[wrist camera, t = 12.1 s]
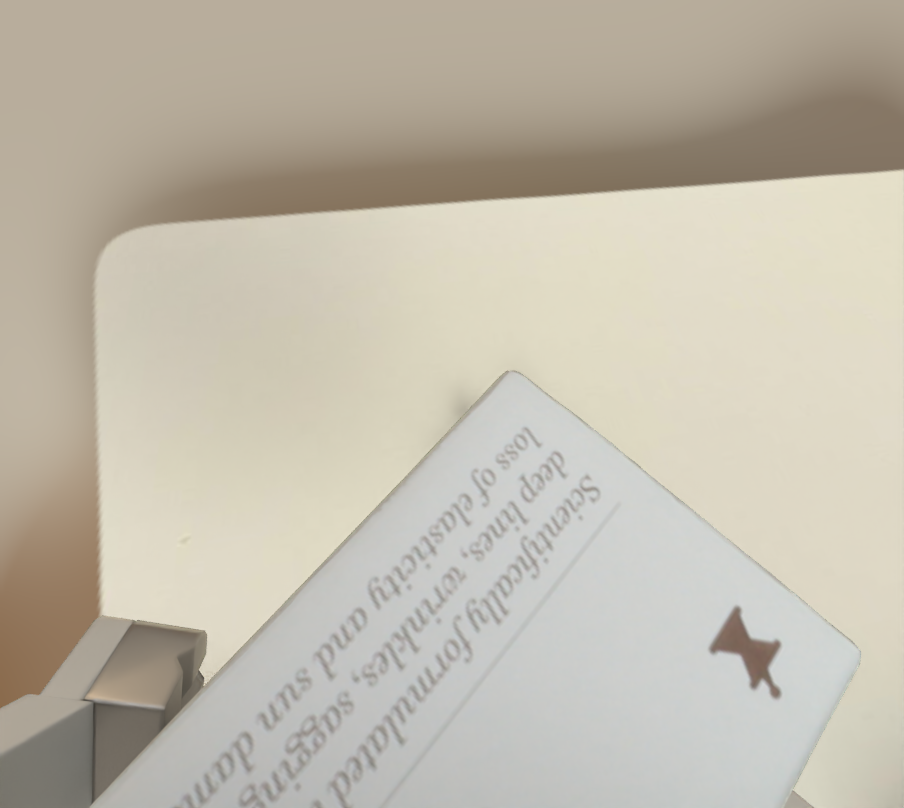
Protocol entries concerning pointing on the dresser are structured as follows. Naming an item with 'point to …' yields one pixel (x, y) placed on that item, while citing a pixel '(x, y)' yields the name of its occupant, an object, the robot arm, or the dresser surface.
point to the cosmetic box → (514, 649)
